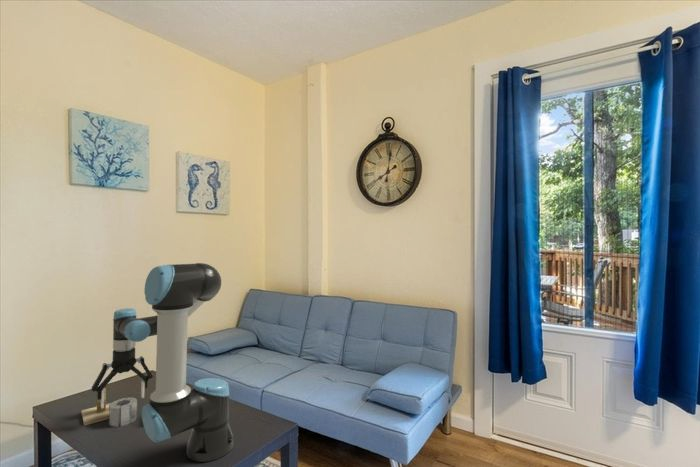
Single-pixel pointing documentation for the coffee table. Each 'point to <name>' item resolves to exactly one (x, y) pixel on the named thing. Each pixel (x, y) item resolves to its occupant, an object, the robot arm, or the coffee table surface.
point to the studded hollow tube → (122, 412)
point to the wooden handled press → (96, 412)
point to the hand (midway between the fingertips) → (123, 401)
